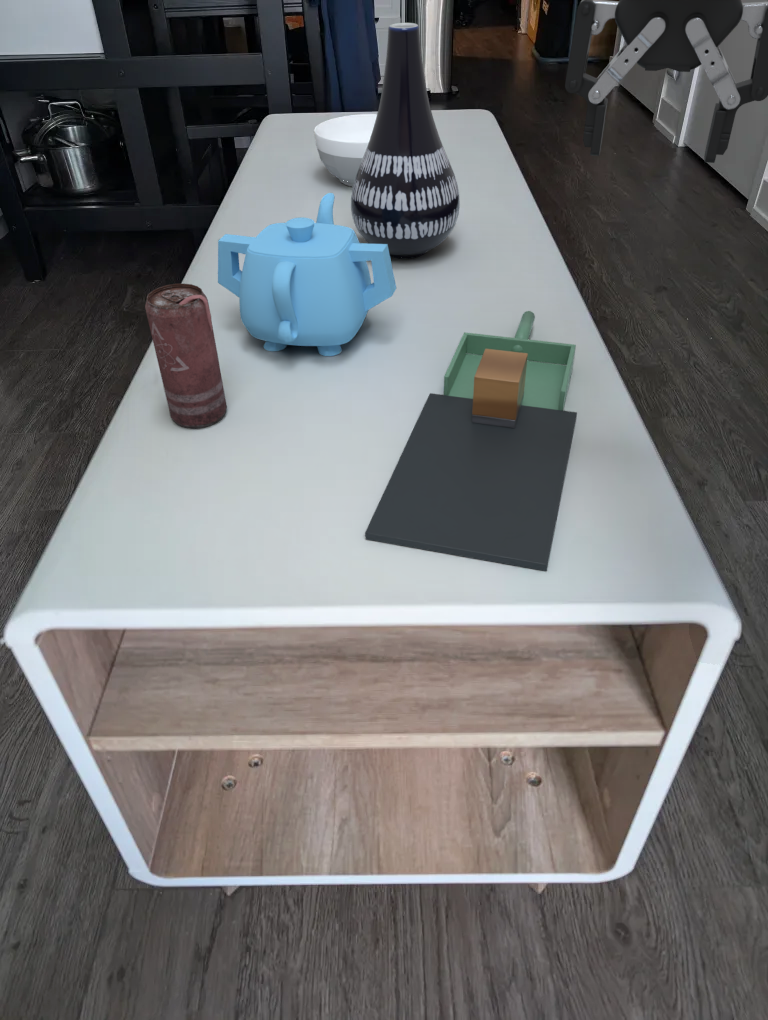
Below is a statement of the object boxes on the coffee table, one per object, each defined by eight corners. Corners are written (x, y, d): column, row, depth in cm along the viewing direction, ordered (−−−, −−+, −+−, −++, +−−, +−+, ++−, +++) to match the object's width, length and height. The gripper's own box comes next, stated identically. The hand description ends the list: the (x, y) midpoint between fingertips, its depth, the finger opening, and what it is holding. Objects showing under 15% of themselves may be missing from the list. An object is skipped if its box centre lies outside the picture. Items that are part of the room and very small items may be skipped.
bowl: (307, 169, 152) (303, 120, 146) (401, 158, 156) (400, 109, 150) (332, 201, 138) (328, 147, 133) (434, 187, 142) (435, 135, 137)
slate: (546, 571, 67) (547, 564, 66) (365, 539, 71) (364, 532, 70) (576, 418, 84) (577, 411, 84) (429, 399, 88) (429, 392, 88)
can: (225, 429, 85) (202, 307, 76) (165, 430, 85) (136, 308, 76) (233, 398, 89) (213, 280, 80) (177, 400, 89) (150, 281, 80)
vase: (477, 242, 122) (488, 19, 103) (423, 280, 112) (424, 41, 93) (390, 223, 129) (386, 11, 110) (332, 257, 119) (316, 30, 100)
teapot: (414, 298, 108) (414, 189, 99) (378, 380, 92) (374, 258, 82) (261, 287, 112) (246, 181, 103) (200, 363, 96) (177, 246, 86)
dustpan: (562, 415, 85) (565, 391, 83) (443, 399, 88) (444, 376, 86) (580, 332, 99) (583, 310, 97) (477, 321, 102) (478, 300, 100)
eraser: (514, 428, 82) (519, 382, 78) (471, 422, 83) (474, 376, 79) (523, 398, 86) (527, 353, 83) (482, 393, 87) (485, 348, 84)
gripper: (581, -102, 50) (553, 165, 61) (826, -106, 47) (752, 177, 57) (591, -108, 56) (564, 138, 66) (811, -113, 53) (746, 147, 63)
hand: (651, 156), depth 62 cm, fingers open, 8 cm apart
